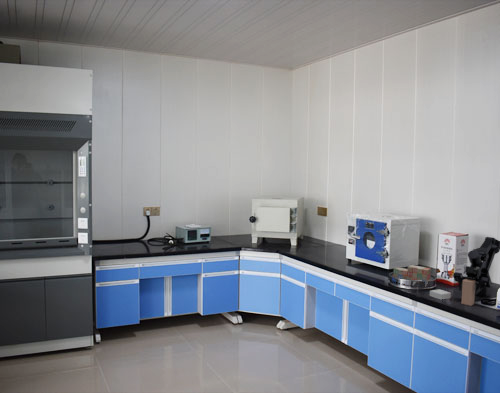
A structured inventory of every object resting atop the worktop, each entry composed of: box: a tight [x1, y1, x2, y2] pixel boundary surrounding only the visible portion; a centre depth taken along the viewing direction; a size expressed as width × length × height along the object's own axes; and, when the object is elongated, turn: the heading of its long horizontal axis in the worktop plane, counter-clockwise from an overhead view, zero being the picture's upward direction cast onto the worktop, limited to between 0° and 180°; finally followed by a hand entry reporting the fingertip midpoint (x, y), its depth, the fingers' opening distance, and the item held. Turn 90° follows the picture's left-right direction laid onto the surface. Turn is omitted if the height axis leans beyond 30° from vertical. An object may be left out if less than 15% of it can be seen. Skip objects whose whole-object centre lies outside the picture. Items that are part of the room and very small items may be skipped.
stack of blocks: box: [392, 264, 432, 287], centre depth 282 cm, size 21×6×12 cm, turn 48°
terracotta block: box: [461, 279, 476, 307], centre depth 246 cm, size 5×5×13 cm
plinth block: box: [429, 289, 452, 300], centre depth 258 cm, size 8×8×3 cm
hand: (467, 292), depth 245 cm, fingers open, 8 cm apart
